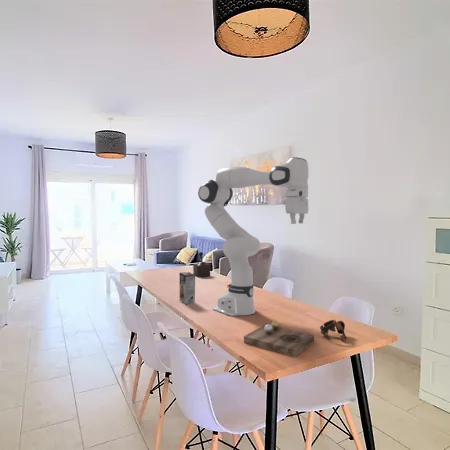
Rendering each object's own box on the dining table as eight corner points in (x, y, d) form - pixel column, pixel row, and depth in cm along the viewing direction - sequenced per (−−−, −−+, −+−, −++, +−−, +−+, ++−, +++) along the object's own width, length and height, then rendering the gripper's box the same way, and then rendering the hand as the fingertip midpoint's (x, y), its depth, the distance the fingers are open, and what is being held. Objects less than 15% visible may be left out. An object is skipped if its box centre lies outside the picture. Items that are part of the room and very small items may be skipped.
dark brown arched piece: (341, 345, 133) (330, 326, 134) (323, 348, 140) (313, 330, 141) (355, 331, 141) (344, 313, 142) (337, 334, 148) (327, 317, 149)
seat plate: (243, 342, 134) (243, 336, 134) (265, 329, 149) (265, 324, 149) (295, 356, 121) (295, 349, 121) (314, 341, 136) (314, 335, 136)
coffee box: (178, 300, 196) (179, 272, 195) (189, 299, 198) (189, 271, 198) (184, 304, 187) (184, 275, 187) (195, 303, 190) (195, 274, 190)
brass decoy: (269, 329, 142) (269, 320, 142) (273, 326, 145) (273, 318, 145) (276, 330, 140) (277, 322, 140) (280, 328, 143) (280, 320, 143)
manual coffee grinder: (211, 276, 268) (211, 253, 267) (199, 277, 262) (199, 254, 261) (201, 273, 281) (201, 251, 280) (189, 274, 275) (189, 252, 274)
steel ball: (262, 333, 137) (262, 324, 137) (266, 330, 140) (266, 322, 140) (270, 335, 135) (270, 326, 135) (274, 332, 138) (274, 324, 138)
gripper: (299, 194, 164) (298, 222, 165) (282, 192, 147) (282, 224, 148) (312, 194, 161) (311, 223, 162) (296, 192, 144) (296, 224, 144)
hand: (297, 223), depth 155 cm, fingers open, 8 cm apart
